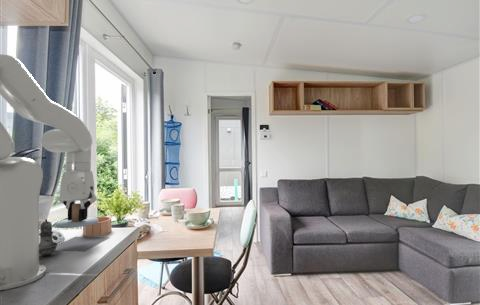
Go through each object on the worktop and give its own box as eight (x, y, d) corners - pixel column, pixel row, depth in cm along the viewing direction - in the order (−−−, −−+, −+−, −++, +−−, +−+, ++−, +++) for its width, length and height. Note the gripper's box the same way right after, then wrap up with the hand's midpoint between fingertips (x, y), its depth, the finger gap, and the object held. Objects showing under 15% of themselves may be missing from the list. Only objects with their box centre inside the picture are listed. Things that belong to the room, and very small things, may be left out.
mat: (85, 252, 86) (84, 251, 86) (45, 251, 88) (45, 250, 88) (110, 238, 100) (110, 237, 100) (75, 237, 101) (75, 236, 101)
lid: (82, 228, 86) (82, 207, 86) (44, 227, 87) (45, 206, 87) (106, 219, 98) (106, 201, 99) (73, 219, 100) (73, 201, 100)
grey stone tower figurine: (29, 259, 81) (29, 220, 81) (48, 252, 87) (48, 216, 87) (44, 261, 80) (43, 221, 79) (62, 254, 85) (61, 217, 85)
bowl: (101, 237, 102) (101, 223, 101) (77, 237, 102) (77, 222, 102) (116, 229, 111) (116, 216, 111) (93, 229, 112) (93, 216, 112)
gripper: (48, 167, 91) (46, 221, 90) (93, 167, 89) (92, 222, 88) (64, 167, 98) (63, 217, 97) (107, 167, 96) (106, 218, 96)
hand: (77, 219), depth 93 cm, fingers closed on lid, 3 cm apart
